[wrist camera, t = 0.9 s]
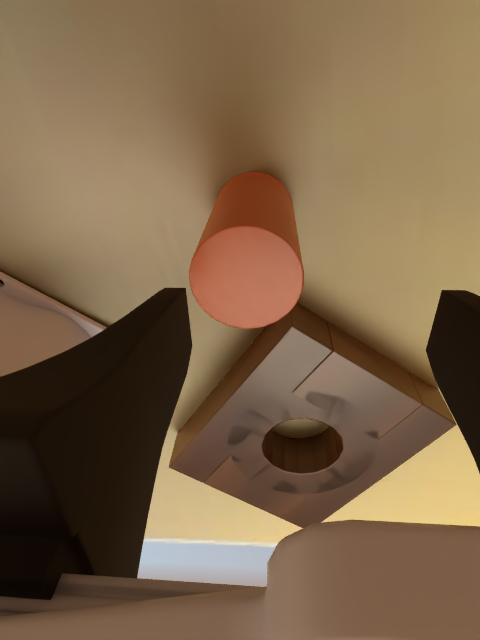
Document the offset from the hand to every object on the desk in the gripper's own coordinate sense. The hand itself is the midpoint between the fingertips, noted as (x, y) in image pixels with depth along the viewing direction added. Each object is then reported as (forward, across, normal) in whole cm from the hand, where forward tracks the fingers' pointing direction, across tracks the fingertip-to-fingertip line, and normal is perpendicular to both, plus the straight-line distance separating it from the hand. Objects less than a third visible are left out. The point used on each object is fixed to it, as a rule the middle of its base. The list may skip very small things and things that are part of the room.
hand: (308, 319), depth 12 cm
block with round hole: (+10, -1, +14) cm, 18 cm away
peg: (+10, +2, 0) cm, 11 cm away
